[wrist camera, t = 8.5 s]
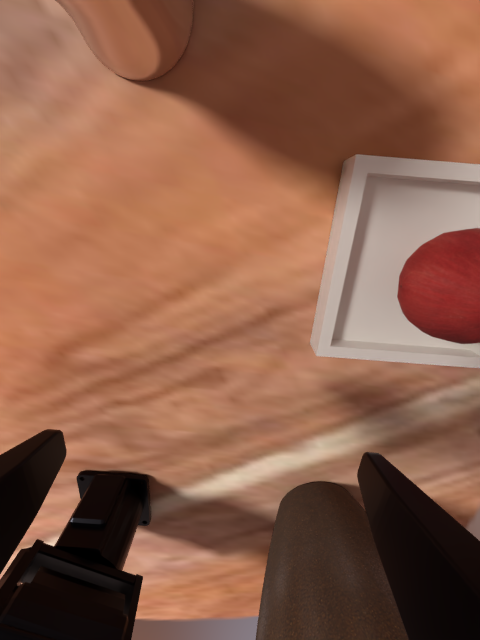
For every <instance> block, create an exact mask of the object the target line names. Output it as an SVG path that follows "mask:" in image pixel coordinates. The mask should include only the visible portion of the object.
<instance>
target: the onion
mask: <svg viewBox="0 0 480 640" xmlns="http://www.w3.org/2000/svg"><path fill="white" fill-rule="evenodd" d="M397 298H398V301H399V304H400V307H401V310H402V312H403V314H404V315H405V317H406V318H407V320H408V321H409V322H411V323H412V324H413V325H414V326H416V327H417V328H418V329H419V330H421V331H422V332H424V333H426V334H428V335H430V336H432V337H435V338H438V339H442V340H446V341H450V342H454V343H459V344H473V343H480V228H473V229H465V230H458V231H452V232H446V233H443V234H441V235H439V236H437V237H435V238H433V239H431V240H430V241H428V242H426V243H424V244H423V245H421V246H420V247H419V248H418V249H417V250H416V251H415V252H414V253H413V254H412V255H411V256H410V257H409V258H408V259H407V260H406V262H405V264H404V266H403V269H402V271H401V273H400V275H399V284H398V295H397Z"/></svg>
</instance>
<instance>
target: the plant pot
mask: <svg viewBox="0 0 480 640" xmlns="http://www.w3.org/2000/svg"><path fill="white" fill-rule="evenodd" d="M256 640H409V639H408V636H407V633H406V631H405V628H404V625H403V622H402V619H401V617H400V614H399V611H398V608H397V605H396V602H395V600H394V597H393V594H392V591H391V588H390V585H389V583H388V580H387V577H386V574H385V571H384V569H383V566H382V563H381V560H380V557H379V554H378V552H377V549H376V546H375V543H374V540H373V536H372V533H371V529H370V526H369V522H368V518H367V514H366V511H365V510H364V509H363V508H362V507H361V505H360V504H359V503H358V502H357V501H356V500H355V499H354V497H353V496H352V495H351V494H350V493H349V492H348V491H347V490H345V489H344V488H342V487H341V486H338V485H336V484H332V483H327V482H313V483H307V484H304V485H301V486H298V487H296V488H295V489H293V490H291V491H290V492H289V493H287V494H286V495H285V497H284V498H283V499H282V501H281V503H280V506H279V509H278V513H277V518H276V522H275V526H274V530H273V535H272V540H271V544H270V549H269V554H268V560H267V565H266V571H265V577H264V583H263V589H262V596H261V603H260V610H259V618H258V625H257V633H256Z"/></svg>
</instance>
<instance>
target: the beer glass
mask: <svg viewBox="0 0 480 640" xmlns="http://www.w3.org/2000/svg"><path fill="white" fill-rule="evenodd" d="M55 1H56V2H57V3H58V4H59V5H60V6H61V7H62V8H63V9H64V10H65V11H66V12H67V13H68V15H69V16H70V17H71V18H72V20H73V21H74V23H75V25H76V26H77V28H78V30H79V31H80V33H81V35H82V37H83V39H84V40H85V42H86V44H87V45H88V47H89V48H90V50H91V51H92V53H93V54H94V55H95V56H96V58H97V59H98V60H99V61H100V62H101V63H102V64H103V65H104V66H106V67H107V68H108V69H109V70H111V71H112V72H114V73H116V74H118V75H120V76H122V77H124V78H127V79H131V80H137V81H146V80H151V79H155V78H157V77H160V76H162V75H163V74H165V73H167V72H168V71H169V70H170V69H171V68H173V66H174V65H175V64H176V63H177V62H178V61H179V59H180V58H181V56H182V54H183V53H184V51H185V49H186V46H187V44H188V41H189V38H190V34H191V29H192V22H193V0H55Z"/></svg>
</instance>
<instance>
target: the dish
mask: <svg viewBox="0 0 480 640" xmlns="http://www.w3.org/2000/svg"><path fill="white" fill-rule="evenodd" d="M473 228H480V164H468V163H456V162H444V161H432V160H420V159H408V158H395V157H383V156H371V155H359V154H356V155H354V156H352V157H350V158H348V159H346V160H345V161H344V162H343V167H342V173H341V178H340V183H339V189H338V194H337V200H336V205H335V210H334V216H333V221H332V227H331V232H330V237H329V243H328V248H327V254H326V259H325V264H324V270H323V275H322V281H321V286H320V291H319V297H318V302H317V308H316V313H315V318H314V324H313V329H312V335H311V340H310V344H311V346H312V348H313V350H314V352H315V354H316V356H324V357H337V358H350V359H364V360H377V361H390V362H403V363H417V364H430V365H443V366H457V367H470V368H480V343H473V344H459V343H454V342H450V341H446V340H442V339H438V338H435V337H432V336H430V335H428V334H426V333H424V332H422V331H421V330H419V329H418V328H417V327H416V326H414V325H413V324H412V323H411V322H409V321H408V320H407V318H406V317H405V315H404V314H403V312H402V310H401V307H400V304H399V301H398V298H397V295H398V284H399V275H400V273H401V271H402V269H403V266H404V264H405V262H406V260H407V259H408V258H409V257H410V256H411V255H412V254H413V253H414V252H415V251H416V250H417V249H418V248H419V247H420V246H421V245H423V244H424V243H426V242H428V241H430V240H431V239H433V238H435V237H437V236H439V235H441V234H443V233H446V232H452V231H458V230H465V229H473Z"/></svg>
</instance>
